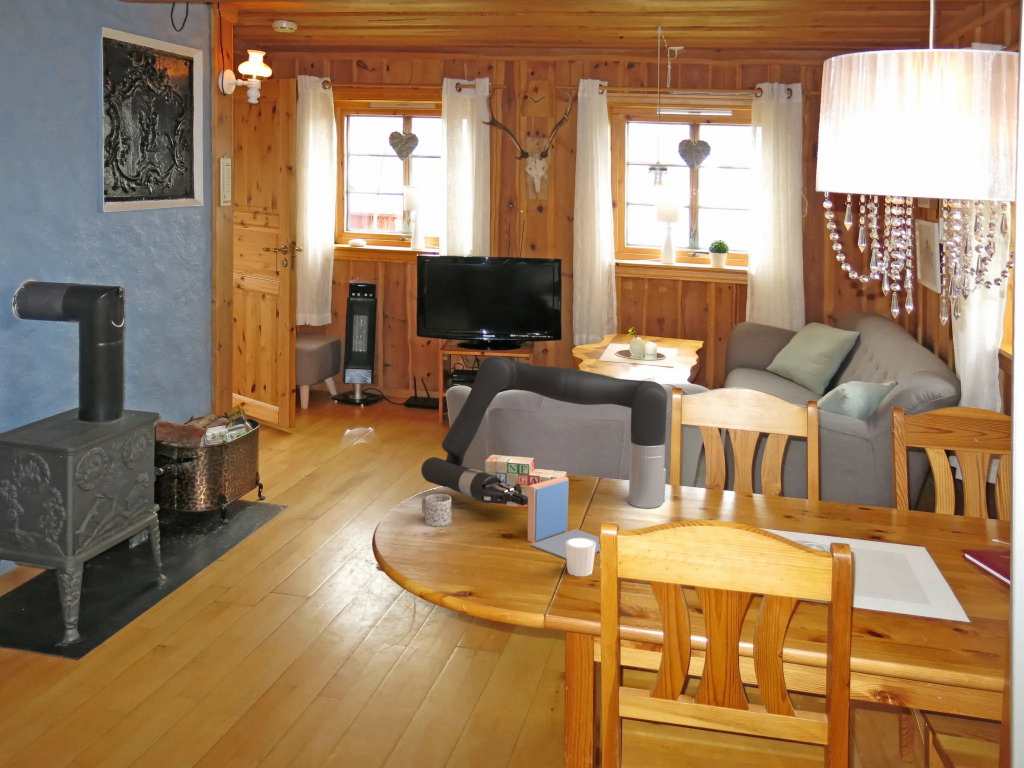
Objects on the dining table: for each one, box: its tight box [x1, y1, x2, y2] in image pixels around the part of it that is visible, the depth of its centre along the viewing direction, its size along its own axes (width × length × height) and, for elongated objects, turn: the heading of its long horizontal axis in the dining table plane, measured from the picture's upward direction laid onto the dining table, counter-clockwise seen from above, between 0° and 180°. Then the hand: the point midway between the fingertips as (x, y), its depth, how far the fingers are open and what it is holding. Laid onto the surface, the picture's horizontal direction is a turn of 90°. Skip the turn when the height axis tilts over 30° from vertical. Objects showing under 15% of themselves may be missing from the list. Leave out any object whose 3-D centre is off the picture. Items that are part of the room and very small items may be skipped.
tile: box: [527, 476, 570, 544], centre depth 254 cm, size 12×2×14 cm, turn 133°
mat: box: [530, 528, 601, 561], centre depth 249 cm, size 16×14×1 cm
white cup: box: [566, 538, 596, 578], centre depth 233 cm, size 7×7×7 cm
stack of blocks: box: [484, 454, 568, 508], centre depth 279 cm, size 21×6×12 cm, turn 74°
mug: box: [421, 493, 452, 528], centre depth 265 cm, size 10×7×7 cm
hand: (525, 501), depth 260 cm, fingers closed
